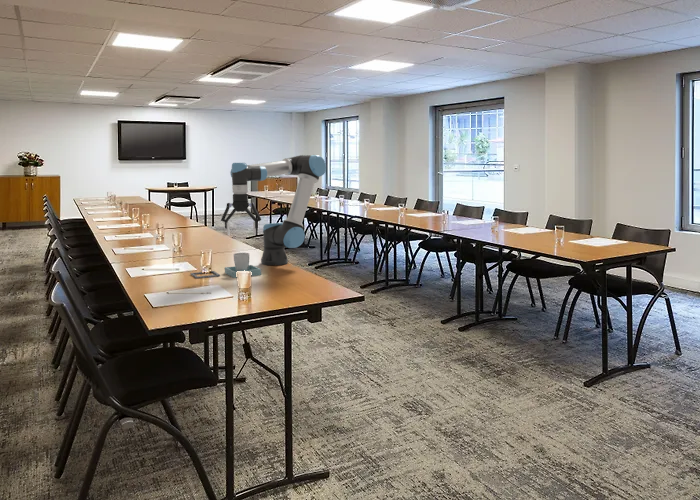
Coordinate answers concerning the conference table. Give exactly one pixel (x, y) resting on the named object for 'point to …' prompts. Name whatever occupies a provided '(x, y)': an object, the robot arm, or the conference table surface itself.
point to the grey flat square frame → (205, 276)
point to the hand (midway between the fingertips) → (241, 235)
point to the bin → (255, 271)
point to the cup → (241, 261)
